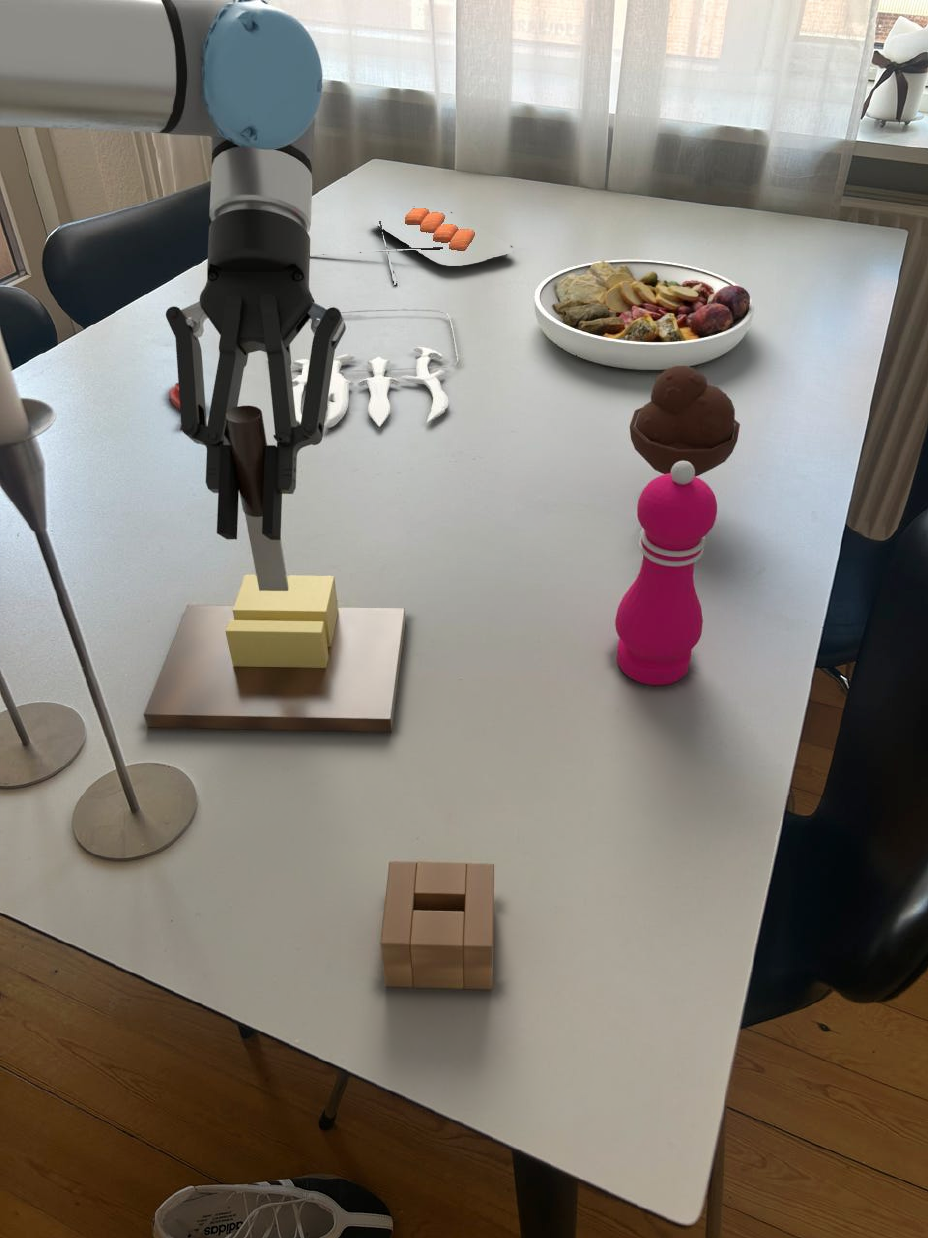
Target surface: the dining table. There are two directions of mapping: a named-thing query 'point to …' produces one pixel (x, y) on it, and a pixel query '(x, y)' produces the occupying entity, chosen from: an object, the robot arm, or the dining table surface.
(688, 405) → the ice cream bowl
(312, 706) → the butter board
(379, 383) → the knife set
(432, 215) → the sushi plate
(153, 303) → the dining table surface
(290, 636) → the butter slice
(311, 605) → the butter block
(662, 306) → the bowl
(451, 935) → the knife stand
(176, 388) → the cayenne pepper
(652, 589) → the pepper mill
